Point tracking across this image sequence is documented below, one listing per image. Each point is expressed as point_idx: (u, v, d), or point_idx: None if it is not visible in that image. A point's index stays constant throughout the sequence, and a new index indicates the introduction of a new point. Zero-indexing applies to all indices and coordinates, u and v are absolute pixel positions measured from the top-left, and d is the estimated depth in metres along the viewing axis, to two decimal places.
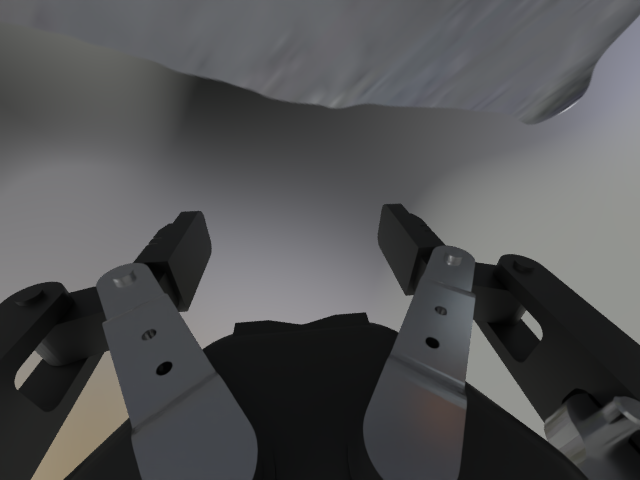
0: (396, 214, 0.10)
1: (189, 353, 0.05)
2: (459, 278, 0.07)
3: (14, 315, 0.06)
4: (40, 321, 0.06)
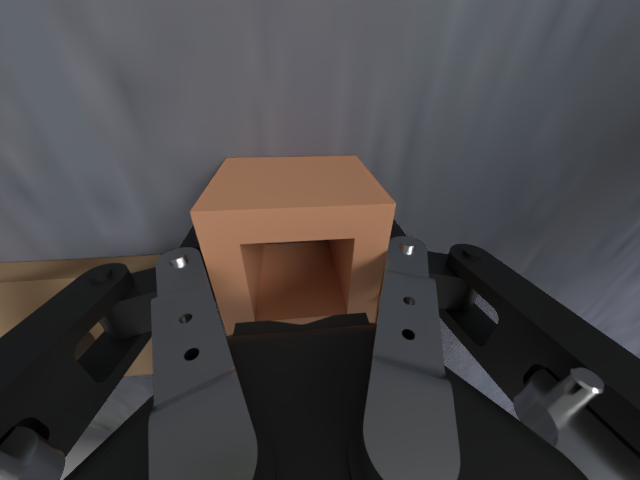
0: None
1: (215, 344, 0.05)
2: (407, 265, 0.07)
3: (85, 290, 0.06)
4: (103, 300, 0.06)
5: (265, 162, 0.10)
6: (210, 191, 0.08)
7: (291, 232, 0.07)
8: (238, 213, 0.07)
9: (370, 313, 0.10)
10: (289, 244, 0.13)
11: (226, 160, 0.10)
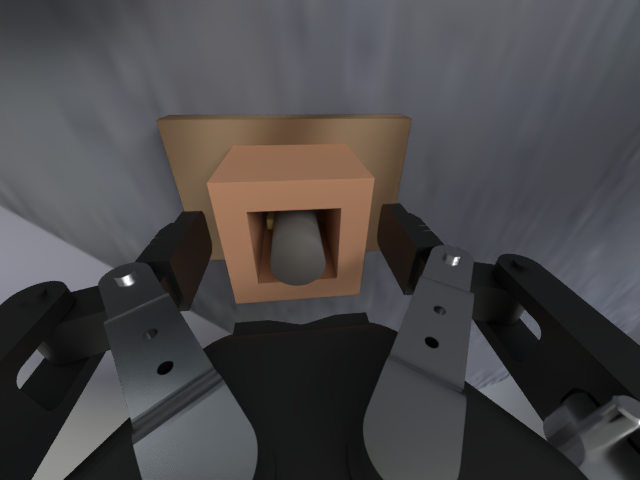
0: (395, 214, 0.10)
1: (190, 352, 0.05)
2: (457, 277, 0.07)
3: (17, 314, 0.06)
4: (43, 320, 0.06)
5: (267, 149, 0.12)
6: (221, 169, 0.09)
7: (288, 202, 0.09)
8: (245, 185, 0.09)
9: (357, 277, 0.11)
10: None
11: (233, 147, 0.12)
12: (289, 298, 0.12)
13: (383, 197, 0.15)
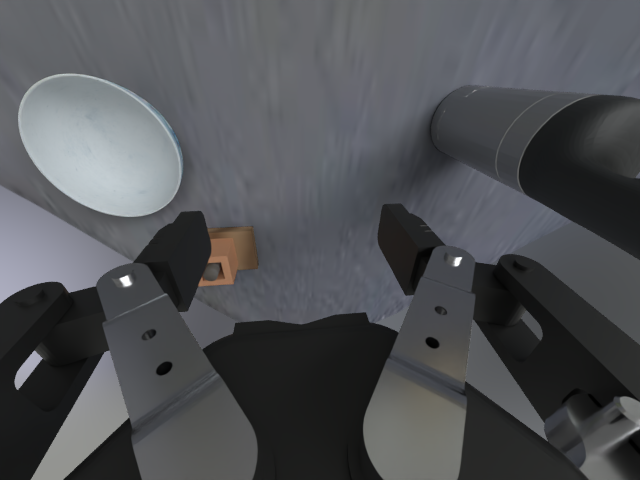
0: (396, 214, 0.10)
1: (189, 353, 0.05)
2: (459, 278, 0.07)
3: (14, 315, 0.06)
4: (40, 322, 0.06)
5: None
6: None
7: None
8: None
9: (231, 279, 0.41)
10: None
11: None
12: None
13: (250, 251, 0.44)
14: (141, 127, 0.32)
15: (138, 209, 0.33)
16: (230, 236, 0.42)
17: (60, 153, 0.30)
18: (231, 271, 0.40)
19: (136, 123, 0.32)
